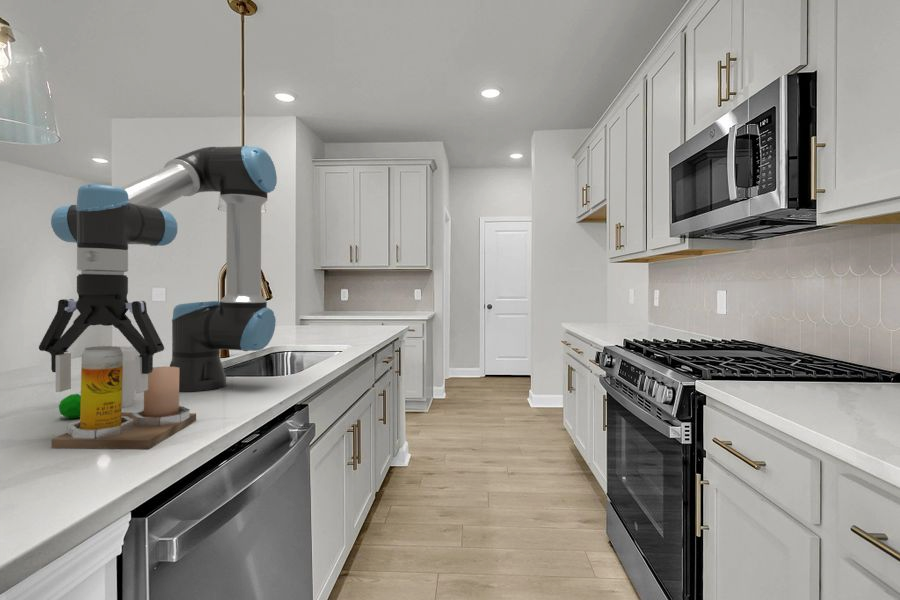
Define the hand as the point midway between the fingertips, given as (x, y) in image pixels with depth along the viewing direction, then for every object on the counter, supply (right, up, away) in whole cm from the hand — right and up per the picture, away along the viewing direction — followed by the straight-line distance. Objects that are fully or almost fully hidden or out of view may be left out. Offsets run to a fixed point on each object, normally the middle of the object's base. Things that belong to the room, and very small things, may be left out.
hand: (102, 391), depth 89 cm
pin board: (+2, -9, +4) cm, 10 cm away
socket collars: (+3, -7, +4) cm, 9 cm away
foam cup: (-14, -8, +24) cm, 29 cm away
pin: (+6, -7, +9) cm, 12 cm away
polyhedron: (-15, -8, +13) cm, 22 cm away
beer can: (0, -7, 0) cm, 7 cm away
